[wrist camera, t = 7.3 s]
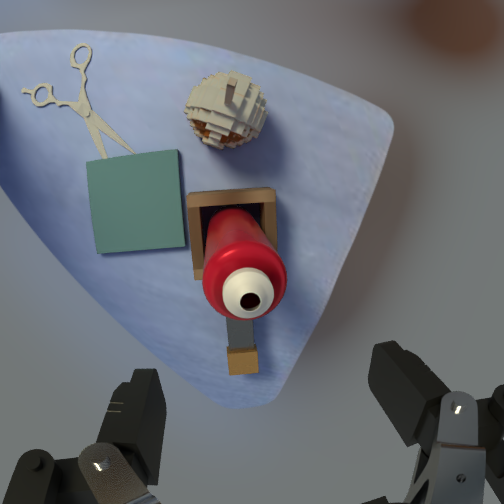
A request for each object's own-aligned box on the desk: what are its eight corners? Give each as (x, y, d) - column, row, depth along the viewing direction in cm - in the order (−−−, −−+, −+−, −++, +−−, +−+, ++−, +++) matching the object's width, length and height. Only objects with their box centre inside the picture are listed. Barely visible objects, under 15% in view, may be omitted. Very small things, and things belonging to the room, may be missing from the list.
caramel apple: (180, 136, 33) (155, 116, 18) (206, 75, 31) (200, 19, 17) (245, 158, 34) (266, 154, 20) (269, 97, 32) (305, 56, 18)
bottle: (237, 195, 35) (264, 233, 16) (264, 233, 37) (315, 309, 18) (198, 222, 35) (179, 291, 16) (226, 259, 37) (238, 359, 18)
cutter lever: (220, 281, 35) (220, 286, 33) (252, 278, 35) (253, 283, 34) (228, 367, 38) (229, 375, 36) (256, 364, 38) (258, 372, 37)
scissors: (79, 32, 27) (163, 141, 32) (81, 34, 27) (165, 141, 33) (20, 90, 27) (96, 201, 33) (23, 91, 28) (98, 200, 34)
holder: (198, 287, 38) (197, 301, 34) (189, 192, 34) (186, 196, 31) (272, 281, 38) (278, 294, 35) (268, 187, 35) (275, 189, 31)
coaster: (99, 252, 35) (97, 253, 34) (88, 162, 32) (86, 162, 31) (185, 244, 36) (185, 246, 35) (178, 149, 33) (177, 149, 32)
